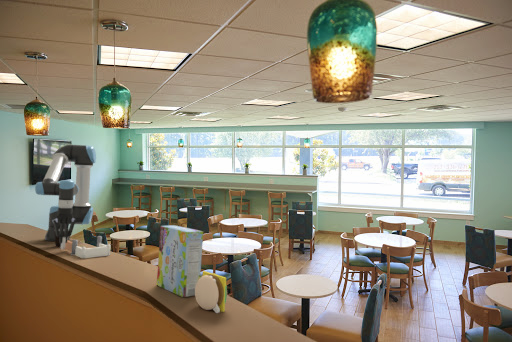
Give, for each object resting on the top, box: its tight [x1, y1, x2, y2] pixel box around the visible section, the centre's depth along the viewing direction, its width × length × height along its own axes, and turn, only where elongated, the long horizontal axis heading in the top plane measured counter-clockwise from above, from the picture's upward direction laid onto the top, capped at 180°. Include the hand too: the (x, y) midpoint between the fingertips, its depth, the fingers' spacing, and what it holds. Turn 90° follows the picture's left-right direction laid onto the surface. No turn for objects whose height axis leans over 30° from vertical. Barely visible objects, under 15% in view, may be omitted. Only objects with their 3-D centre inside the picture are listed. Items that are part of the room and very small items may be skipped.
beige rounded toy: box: [194, 270, 228, 314], centre depth 134 cm, size 12×8×12 cm
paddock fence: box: [69, 235, 111, 259], centre depth 210 cm, size 15×17×9 cm
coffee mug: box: [54, 228, 71, 248], centre depth 230 cm, size 12×9×10 cm
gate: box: [64, 239, 79, 253], centre depth 212 cm, size 13×3×7 cm, turn 48°
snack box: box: [156, 224, 204, 298], centre depth 154 cm, size 22×9×26 cm, turn 43°
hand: (62, 248), depth 211 cm, fingers closed
